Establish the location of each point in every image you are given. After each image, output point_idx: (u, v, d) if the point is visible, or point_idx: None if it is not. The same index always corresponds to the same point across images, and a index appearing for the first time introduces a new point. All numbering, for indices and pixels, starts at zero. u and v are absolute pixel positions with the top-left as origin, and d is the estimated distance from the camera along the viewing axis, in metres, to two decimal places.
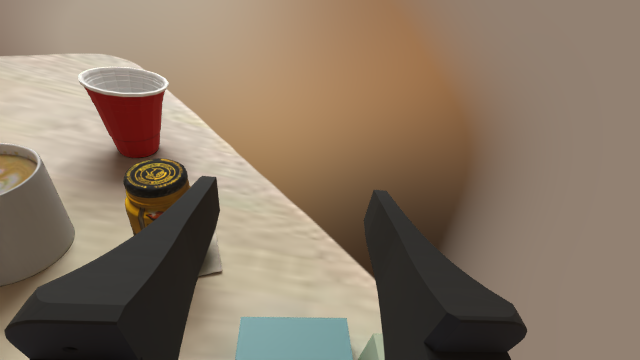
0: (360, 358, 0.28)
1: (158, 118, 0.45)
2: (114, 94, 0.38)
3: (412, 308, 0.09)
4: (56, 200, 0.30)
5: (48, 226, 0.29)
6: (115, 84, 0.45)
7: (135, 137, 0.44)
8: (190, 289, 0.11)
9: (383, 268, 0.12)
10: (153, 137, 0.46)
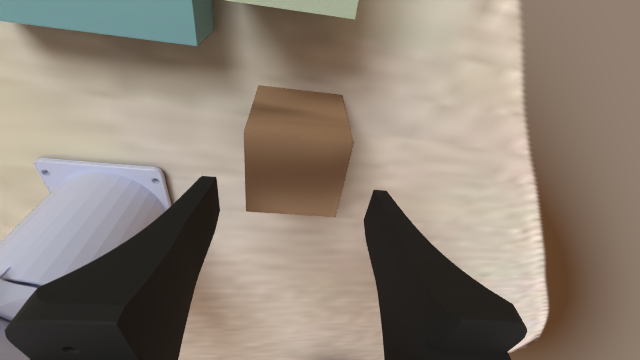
0: None
1: None
2: None
3: (412, 308, 0.09)
4: None
5: None
6: None
7: None
8: (190, 289, 0.11)
9: (383, 268, 0.12)
10: None
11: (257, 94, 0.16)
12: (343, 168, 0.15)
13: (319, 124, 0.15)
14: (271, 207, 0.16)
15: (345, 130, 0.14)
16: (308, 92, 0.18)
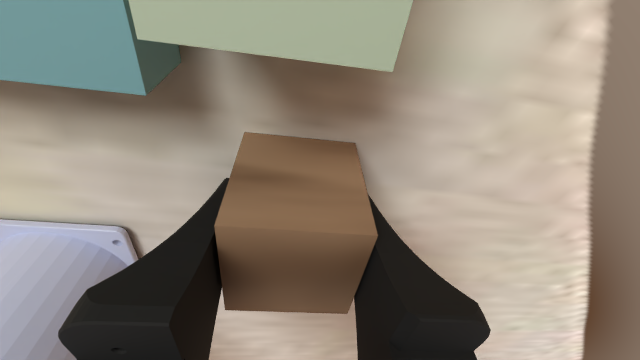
0: None
1: None
2: None
3: (380, 307, 0.09)
4: None
5: None
6: None
7: None
8: (218, 290, 0.11)
9: None
10: None
11: (241, 149, 0.12)
12: (361, 264, 0.10)
13: (326, 201, 0.10)
14: (259, 305, 0.12)
15: (364, 211, 0.10)
16: (311, 141, 0.13)
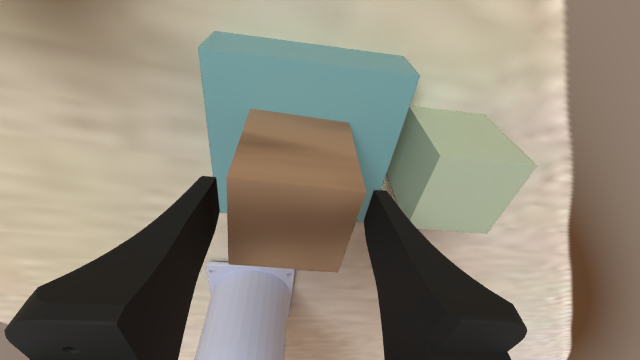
0: (411, 116, 0.17)
1: None
2: None
3: (412, 308, 0.09)
4: None
5: None
6: None
7: None
8: (190, 289, 0.11)
9: (383, 268, 0.12)
10: None
11: (247, 121, 0.13)
12: (351, 221, 0.12)
13: (322, 164, 0.12)
14: (259, 261, 0.13)
15: (355, 174, 0.12)
16: (310, 118, 0.15)
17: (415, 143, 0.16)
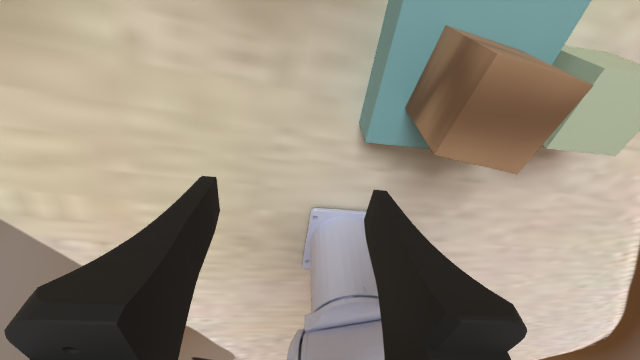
0: None
1: None
2: None
3: (412, 308, 0.09)
4: None
5: None
6: None
7: None
8: (190, 289, 0.11)
9: (382, 268, 0.12)
10: None
11: (457, 31, 0.15)
12: (563, 116, 0.14)
13: (544, 65, 0.14)
14: (462, 154, 0.15)
15: (571, 75, 0.14)
16: (493, 41, 0.16)
17: None
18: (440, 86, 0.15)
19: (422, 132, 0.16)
